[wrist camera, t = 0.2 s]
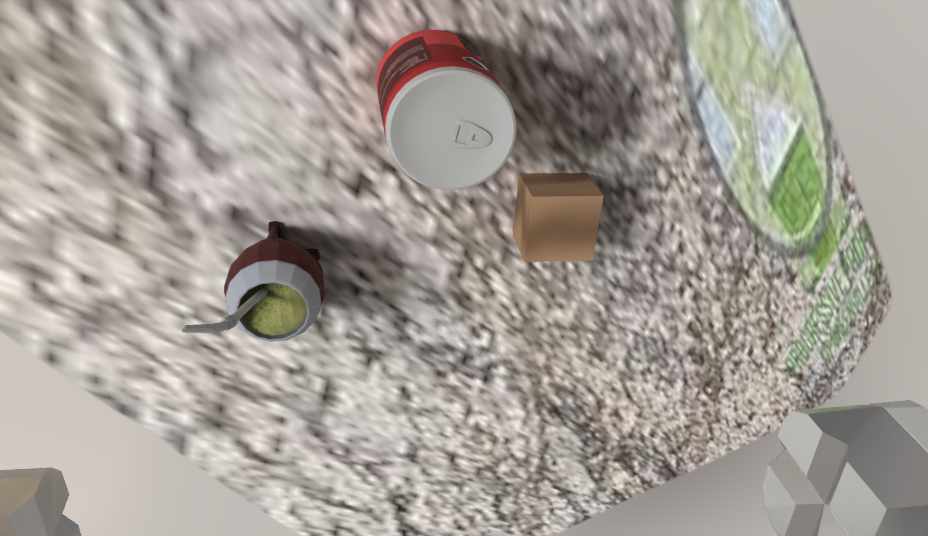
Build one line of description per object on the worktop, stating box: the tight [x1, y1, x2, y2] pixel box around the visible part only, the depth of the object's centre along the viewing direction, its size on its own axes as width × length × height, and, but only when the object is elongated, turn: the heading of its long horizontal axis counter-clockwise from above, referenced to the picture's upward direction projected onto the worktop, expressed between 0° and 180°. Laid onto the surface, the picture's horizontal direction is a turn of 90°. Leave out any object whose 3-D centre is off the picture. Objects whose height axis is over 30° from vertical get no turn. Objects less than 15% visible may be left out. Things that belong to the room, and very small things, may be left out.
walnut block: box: [513, 173, 604, 262], centre depth 59 cm, size 6×6×4 cm
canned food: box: [377, 30, 516, 190], centre depth 50 cm, size 8×8×11 cm
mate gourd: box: [182, 221, 325, 342], centre depth 53 cm, size 8×8×15 cm
